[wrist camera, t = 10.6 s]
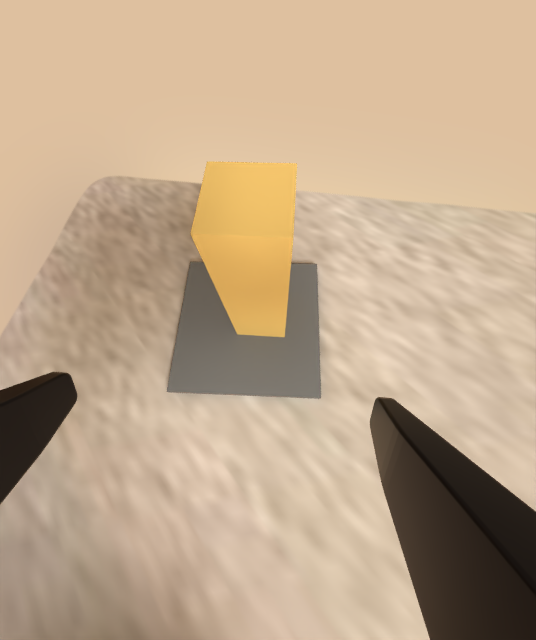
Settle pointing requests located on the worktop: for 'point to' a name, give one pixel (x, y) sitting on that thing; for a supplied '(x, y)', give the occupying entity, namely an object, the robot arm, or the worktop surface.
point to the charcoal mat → (247, 344)
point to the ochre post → (248, 240)
